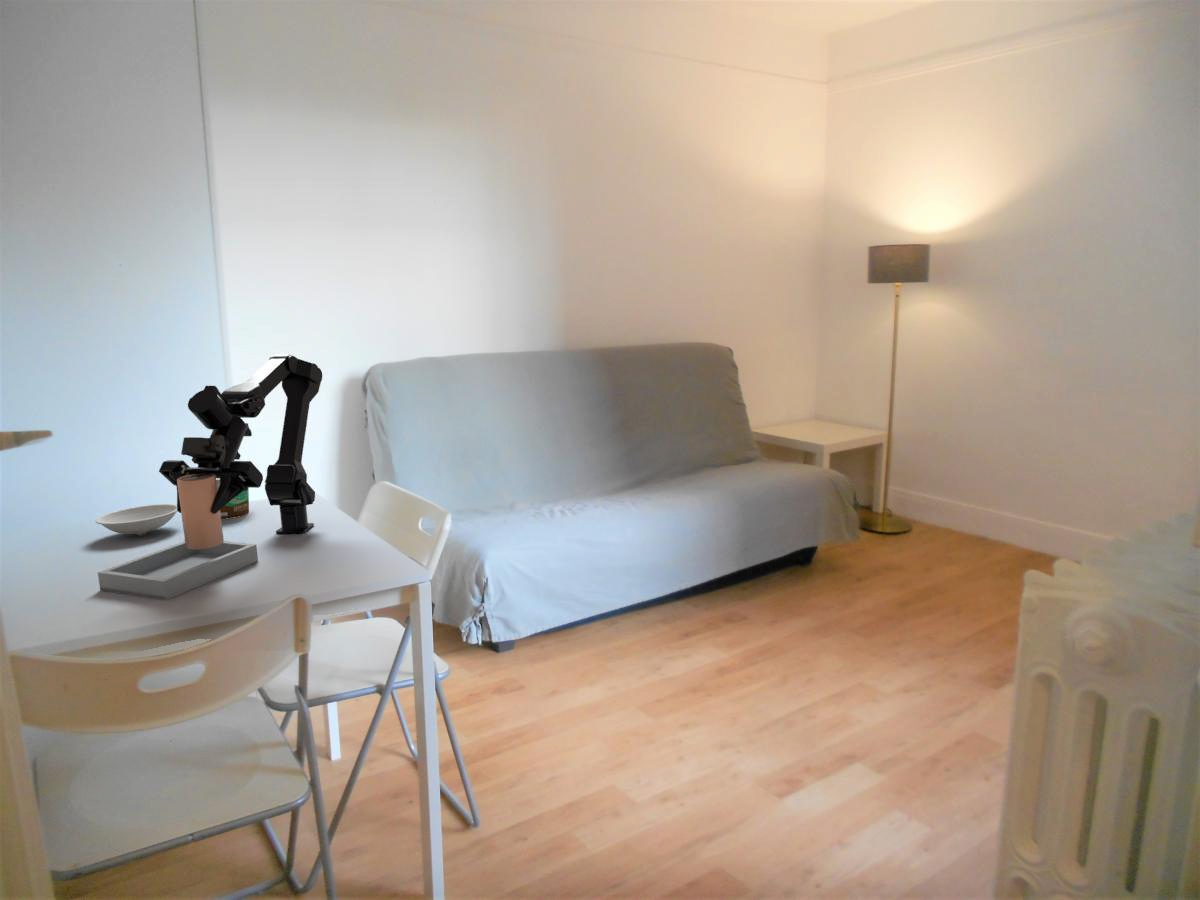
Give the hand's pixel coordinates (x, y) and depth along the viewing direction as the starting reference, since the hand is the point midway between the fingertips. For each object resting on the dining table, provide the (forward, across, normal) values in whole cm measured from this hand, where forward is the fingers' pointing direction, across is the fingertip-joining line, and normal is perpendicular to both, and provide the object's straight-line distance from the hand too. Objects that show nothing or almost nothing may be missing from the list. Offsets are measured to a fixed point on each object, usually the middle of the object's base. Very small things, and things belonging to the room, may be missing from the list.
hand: (195, 512), depth 157 cm
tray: (+8, -6, +11) cm, 15 cm away
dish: (-9, -34, +29) cm, 46 cm away
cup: (+4, 0, +6) cm, 7 cm away
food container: (-22, -22, +42) cm, 52 cm away
